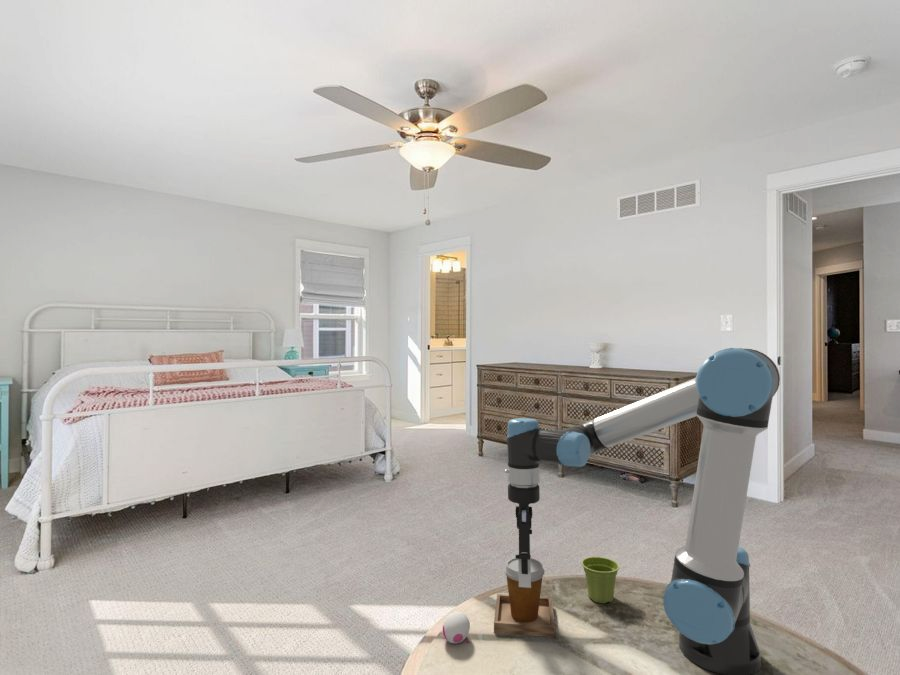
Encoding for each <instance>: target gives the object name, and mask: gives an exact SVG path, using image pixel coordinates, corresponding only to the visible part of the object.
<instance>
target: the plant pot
mask: <svg viewBox="0 0 900 675" xmlns="http://www.w3.org/2000/svg"><path fill="white" fill-rule="evenodd" d="M581 566H582V567H583V571H584V575H585V579H586V580H585V581H586V588H587V595H588V598H589V599H591V600H592V601H593V602H594V603H600V604H606V603H608V602H609V603H612V602H613V600H614V594H615V586H616V577H617V575H618V571H619V570H620V564H619V563H618V562H616V561H614V560H613V559H611V558H608V557H601V556H589V557H586V558H584V559H582V560H581Z"/></svg>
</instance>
